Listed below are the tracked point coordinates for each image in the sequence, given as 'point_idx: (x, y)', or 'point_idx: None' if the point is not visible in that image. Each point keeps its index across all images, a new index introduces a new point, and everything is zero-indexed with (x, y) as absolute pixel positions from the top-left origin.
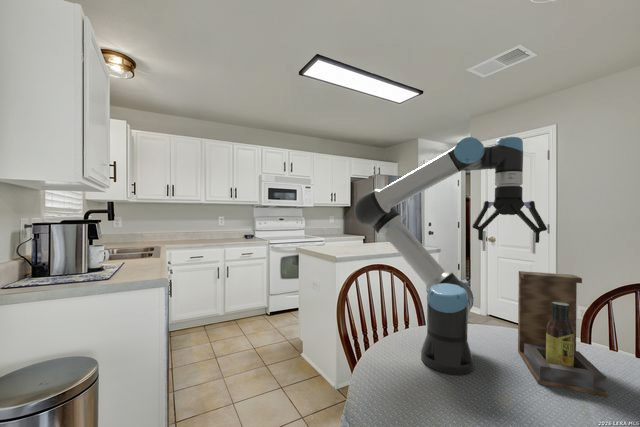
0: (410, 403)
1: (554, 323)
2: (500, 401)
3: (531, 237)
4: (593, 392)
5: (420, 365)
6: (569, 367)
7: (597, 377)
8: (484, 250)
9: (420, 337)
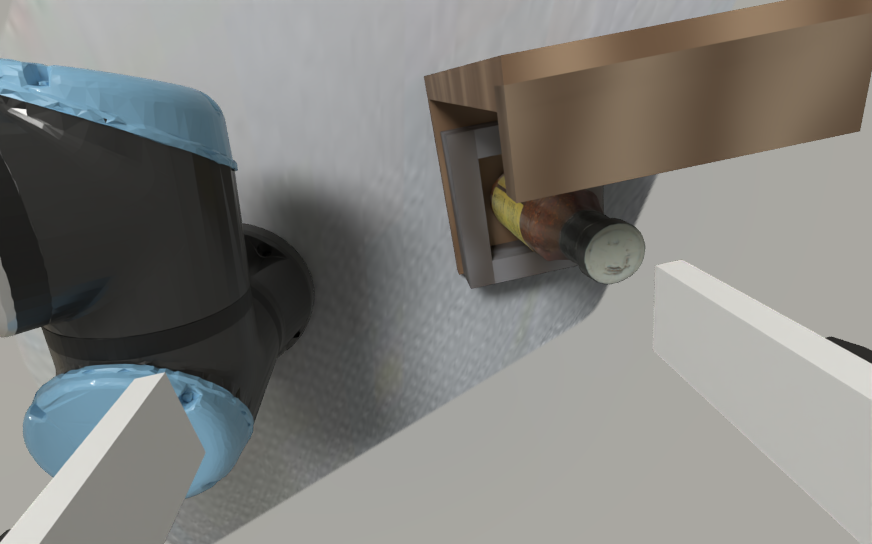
0: (239, 482)
1: (553, 257)
2: (383, 386)
3: (816, 438)
4: None
5: None
6: (538, 254)
7: None
8: (193, 457)
9: None
